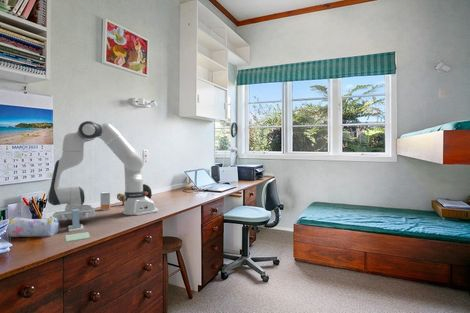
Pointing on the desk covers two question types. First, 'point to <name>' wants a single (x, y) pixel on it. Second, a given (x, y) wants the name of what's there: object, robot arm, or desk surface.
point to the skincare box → (105, 200)
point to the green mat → (77, 237)
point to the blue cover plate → (75, 218)
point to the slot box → (76, 228)
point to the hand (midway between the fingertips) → (75, 217)
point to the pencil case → (33, 227)
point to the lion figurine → (121, 198)
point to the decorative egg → (147, 190)
